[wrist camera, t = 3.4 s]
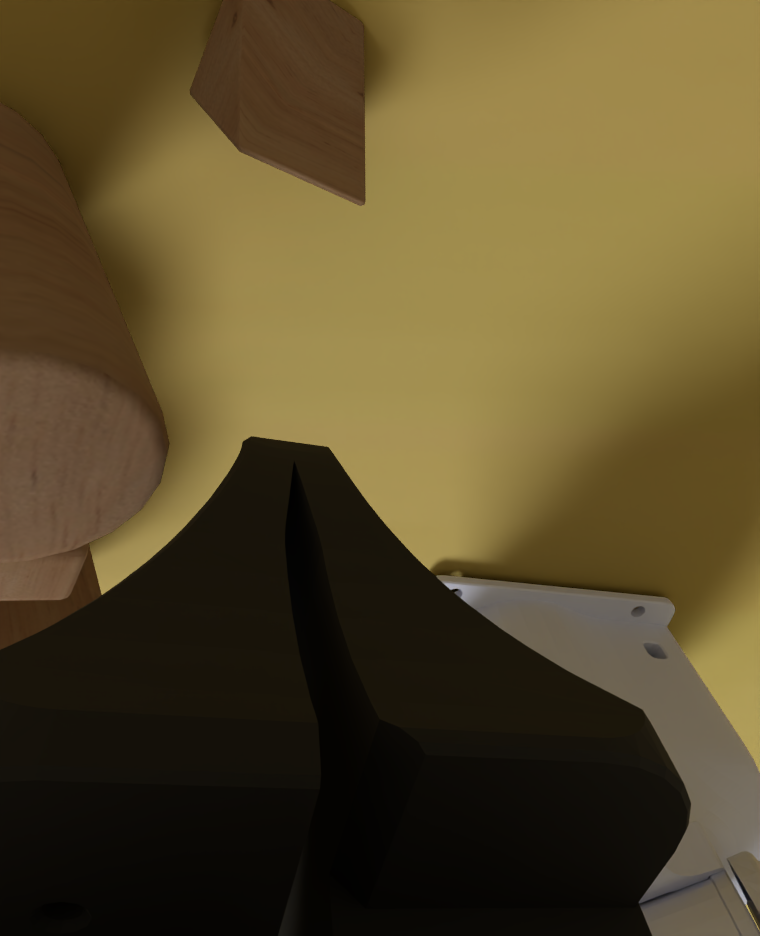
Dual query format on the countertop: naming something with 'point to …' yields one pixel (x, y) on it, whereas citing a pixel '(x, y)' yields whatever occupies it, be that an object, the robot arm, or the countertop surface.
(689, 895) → the robot arm
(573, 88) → the countertop surface
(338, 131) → the wooden block set
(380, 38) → the countertop surface
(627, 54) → the countertop surface
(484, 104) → the countertop surface
